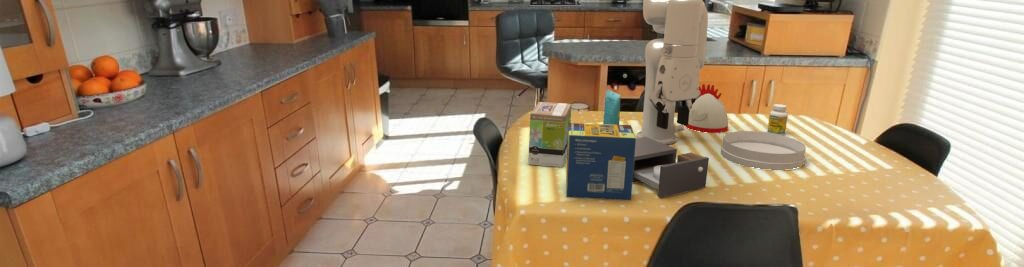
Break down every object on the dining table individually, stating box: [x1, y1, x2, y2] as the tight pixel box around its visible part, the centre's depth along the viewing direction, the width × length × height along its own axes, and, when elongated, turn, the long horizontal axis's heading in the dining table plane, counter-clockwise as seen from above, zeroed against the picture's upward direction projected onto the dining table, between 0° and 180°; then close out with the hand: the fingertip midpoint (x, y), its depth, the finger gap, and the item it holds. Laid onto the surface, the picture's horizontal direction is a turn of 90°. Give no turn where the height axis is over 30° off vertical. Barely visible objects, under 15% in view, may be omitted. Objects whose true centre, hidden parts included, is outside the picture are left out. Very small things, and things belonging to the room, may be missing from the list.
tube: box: [602, 89, 622, 125], centre depth 154 cm, size 7×5×19 cm, turn 26°
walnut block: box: [676, 152, 704, 163], centre depth 144 cm, size 5×5×5 cm
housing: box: [632, 137, 678, 184], centre depth 146 cm, size 12×15×7 cm
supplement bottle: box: [766, 103, 789, 136], centre depth 181 cm, size 5×5×10 cm
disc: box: [653, 165, 663, 180], centre depth 137 cm, size 7×7×2 cm
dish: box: [720, 130, 807, 171], centre depth 158 cm, size 22×22×5 cm
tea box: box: [527, 101, 572, 168], centre depth 155 cm, size 15×10×15 cm, turn 168°
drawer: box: [633, 156, 710, 199], centre depth 136 cm, size 12×15×8 cm
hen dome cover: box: [685, 83, 729, 134], centre depth 187 cm, size 14×14×15 cm
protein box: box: [565, 122, 637, 201], centre depth 131 cm, size 10×15×16 cm
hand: (672, 125), depth 133 cm, fingers open, 5 cm apart
